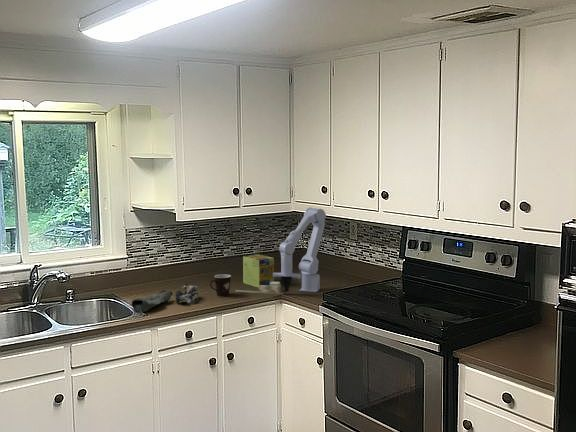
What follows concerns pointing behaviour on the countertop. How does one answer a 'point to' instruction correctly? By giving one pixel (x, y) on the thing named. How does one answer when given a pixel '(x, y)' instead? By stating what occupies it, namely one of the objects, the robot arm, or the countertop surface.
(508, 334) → the countertop surface
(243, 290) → the rail
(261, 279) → the protein box
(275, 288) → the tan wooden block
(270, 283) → the marked cube
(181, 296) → the foil
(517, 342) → the countertop surface
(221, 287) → the coffee mug
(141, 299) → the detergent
